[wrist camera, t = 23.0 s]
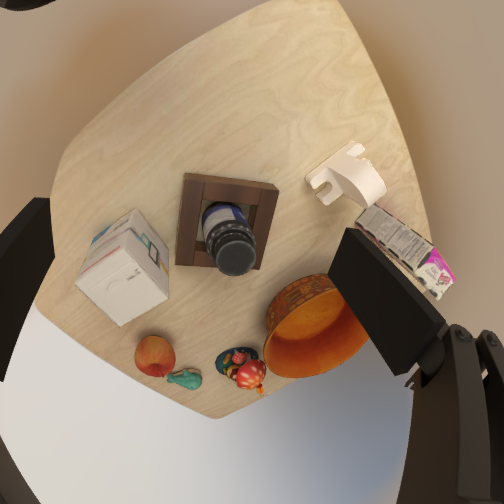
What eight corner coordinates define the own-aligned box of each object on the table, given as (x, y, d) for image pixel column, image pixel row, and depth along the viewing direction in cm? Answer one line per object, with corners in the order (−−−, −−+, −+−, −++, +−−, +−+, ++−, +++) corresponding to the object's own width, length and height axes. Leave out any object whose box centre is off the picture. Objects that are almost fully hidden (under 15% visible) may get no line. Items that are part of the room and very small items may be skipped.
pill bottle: (247, 230, 44) (268, 271, 35) (208, 244, 44) (219, 289, 35) (236, 193, 41) (255, 227, 32) (195, 208, 41) (201, 246, 31)
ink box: (127, 277, 44) (118, 329, 34) (92, 237, 39) (71, 284, 29) (170, 250, 43) (170, 299, 33) (136, 205, 38) (124, 246, 29)
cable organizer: (367, 165, 43) (406, 186, 35) (320, 202, 45) (353, 231, 37) (353, 139, 41) (393, 154, 32) (303, 177, 42) (335, 201, 34)
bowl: (372, 275, 56) (399, 306, 47) (311, 349, 63) (328, 383, 55) (293, 235, 47) (319, 270, 38) (229, 330, 54) (239, 371, 45)
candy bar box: (400, 231, 52) (457, 279, 38) (384, 251, 53) (438, 302, 40) (371, 199, 47) (437, 246, 33) (353, 221, 48) (413, 275, 34)
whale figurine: (200, 381, 60) (202, 395, 57) (166, 381, 58) (167, 395, 55) (202, 365, 57) (204, 379, 54) (166, 364, 55) (167, 379, 52)
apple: (141, 322, 48) (140, 356, 42) (180, 333, 52) (183, 367, 45) (131, 347, 51) (129, 381, 44) (166, 357, 54) (168, 390, 47)
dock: (175, 254, 44) (175, 265, 41) (184, 172, 38) (185, 178, 35) (254, 259, 47) (259, 269, 45) (273, 184, 42) (279, 190, 39)
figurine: (213, 346, 55) (220, 381, 48) (260, 338, 57) (272, 371, 50) (217, 380, 61) (224, 412, 54) (259, 374, 63) (269, 404, 56)
